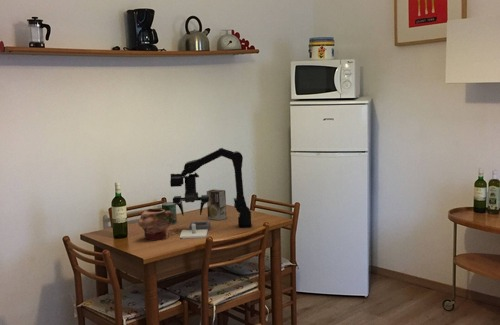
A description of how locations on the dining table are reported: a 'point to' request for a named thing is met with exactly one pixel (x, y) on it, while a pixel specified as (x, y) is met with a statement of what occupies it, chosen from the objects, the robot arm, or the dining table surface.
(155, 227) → the decorative planter
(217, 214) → the coffee box
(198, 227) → the grey square frame
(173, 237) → the dining table surface
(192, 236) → the post stand
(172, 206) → the canned tomato
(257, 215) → the dining table surface
